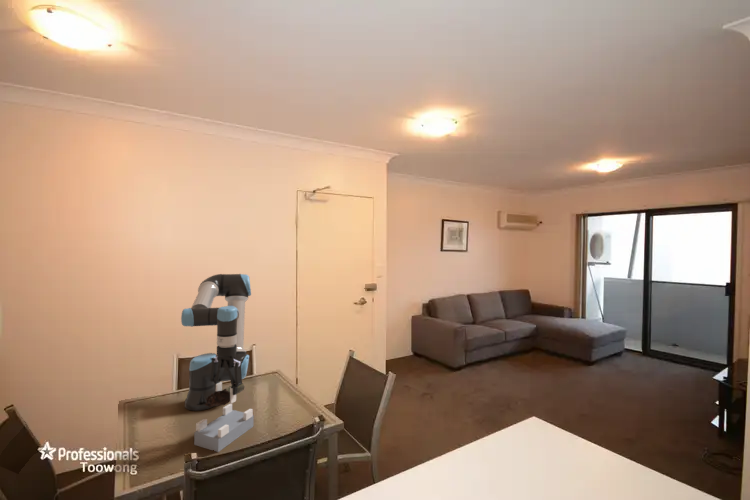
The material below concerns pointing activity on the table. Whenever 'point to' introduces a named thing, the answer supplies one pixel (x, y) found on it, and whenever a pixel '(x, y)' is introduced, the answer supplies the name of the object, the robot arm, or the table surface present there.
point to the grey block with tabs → (223, 429)
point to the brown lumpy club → (221, 397)
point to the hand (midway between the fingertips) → (225, 400)
